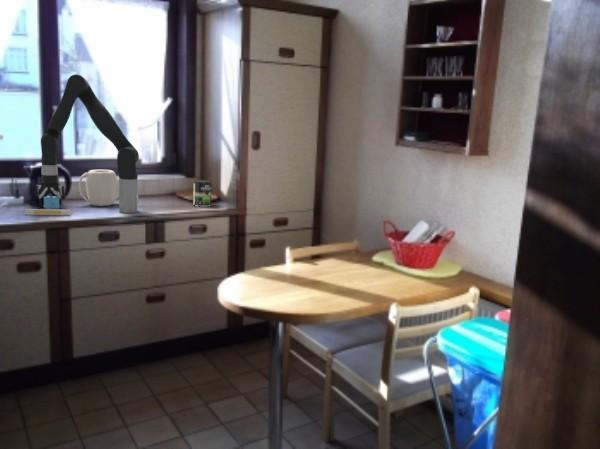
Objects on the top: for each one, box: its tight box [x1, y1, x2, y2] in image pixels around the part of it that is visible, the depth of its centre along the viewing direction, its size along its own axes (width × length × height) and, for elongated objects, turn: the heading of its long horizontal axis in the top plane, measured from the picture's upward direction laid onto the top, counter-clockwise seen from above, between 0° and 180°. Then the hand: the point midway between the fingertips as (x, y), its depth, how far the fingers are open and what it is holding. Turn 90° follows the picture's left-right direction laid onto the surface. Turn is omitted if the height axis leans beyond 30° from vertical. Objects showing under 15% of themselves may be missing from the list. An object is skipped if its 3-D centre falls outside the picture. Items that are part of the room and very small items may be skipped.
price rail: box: [24, 208, 71, 216], centre depth 269 cm, size 20×2×2 cm, turn 100°
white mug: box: [77, 169, 119, 207], centre depth 308 cm, size 16×27×19 cm, turn 126°
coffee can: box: [192, 179, 213, 208], centre depth 322 cm, size 10×10×14 cm
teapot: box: [42, 194, 60, 210], centre depth 287 cm, size 12×6×8 cm, turn 37°
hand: (50, 205), depth 287 cm, fingers closed on teapot, 8 cm apart
